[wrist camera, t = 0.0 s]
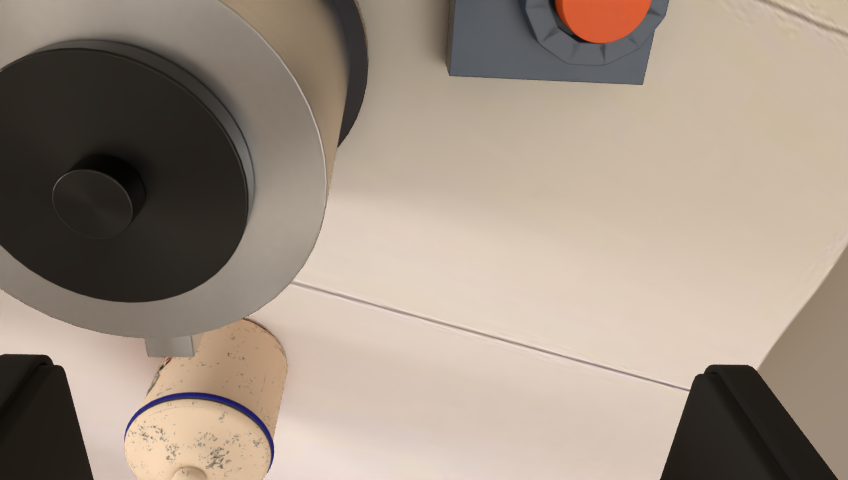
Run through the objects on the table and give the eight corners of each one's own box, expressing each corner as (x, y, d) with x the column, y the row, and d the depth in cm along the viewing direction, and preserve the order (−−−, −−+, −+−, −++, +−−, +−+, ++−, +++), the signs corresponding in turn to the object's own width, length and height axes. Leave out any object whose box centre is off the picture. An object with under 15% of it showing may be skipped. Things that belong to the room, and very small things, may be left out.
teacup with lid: (161, 305, 46) (97, 428, 35) (293, 316, 47) (267, 439, 36) (169, 431, 51) (116, 568, 41) (287, 438, 52) (263, 573, 42)
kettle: (-22, -119, 33) (-483, -115, 15) (371, -94, 34) (355, -64, 17) (52, 195, 41) (-192, 427, 24) (365, 205, 43) (351, 430, 25)
